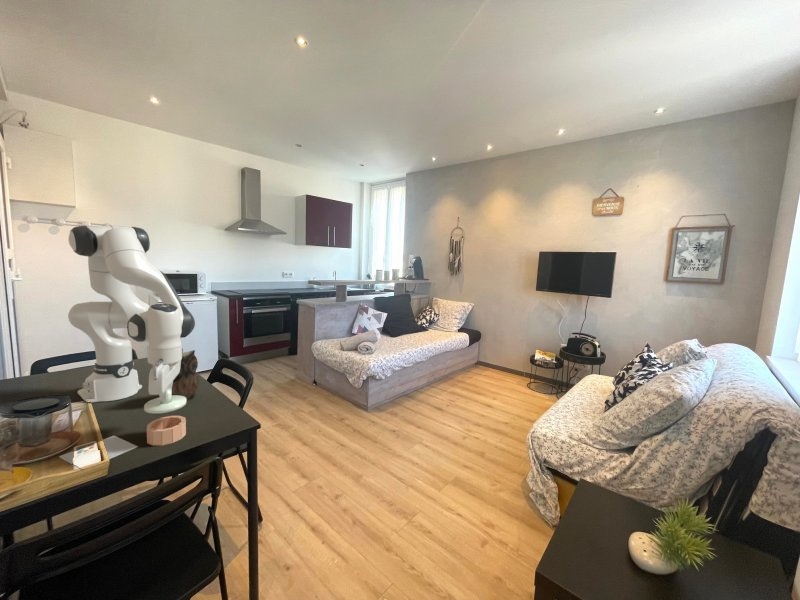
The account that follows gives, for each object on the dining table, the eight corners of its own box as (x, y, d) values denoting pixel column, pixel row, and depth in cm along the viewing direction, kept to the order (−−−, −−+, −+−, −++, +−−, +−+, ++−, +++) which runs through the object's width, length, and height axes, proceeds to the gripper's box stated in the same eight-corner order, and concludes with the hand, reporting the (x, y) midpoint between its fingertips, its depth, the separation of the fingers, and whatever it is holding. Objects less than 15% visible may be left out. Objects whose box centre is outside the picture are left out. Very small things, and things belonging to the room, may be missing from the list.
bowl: (139, 440, 102) (139, 426, 101) (173, 426, 111) (172, 413, 111) (159, 449, 98) (159, 434, 98) (192, 434, 107) (192, 420, 107)
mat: (58, 457, 92) (58, 456, 91) (113, 436, 103) (113, 435, 103) (83, 471, 87) (83, 470, 86) (138, 447, 98) (138, 446, 98)
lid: (134, 411, 99) (134, 395, 98) (165, 397, 109) (164, 382, 109) (167, 415, 97) (166, 398, 97) (194, 400, 108) (194, 385, 108)
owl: (200, 392, 140) (199, 348, 138) (193, 405, 128) (193, 356, 126) (165, 395, 135) (164, 349, 133) (155, 408, 123) (154, 358, 121)
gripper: (167, 364, 93) (168, 410, 95) (184, 347, 112) (184, 385, 113) (141, 366, 91) (142, 412, 92) (162, 347, 110) (163, 386, 111)
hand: (165, 397), depth 103 cm, fingers closed on lid, 3 cm apart
